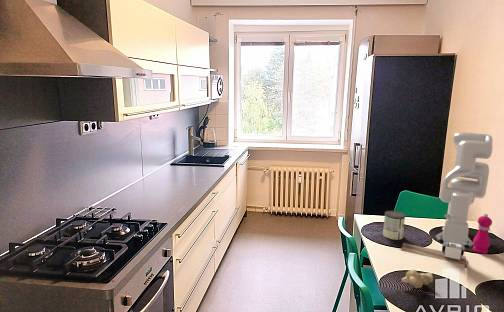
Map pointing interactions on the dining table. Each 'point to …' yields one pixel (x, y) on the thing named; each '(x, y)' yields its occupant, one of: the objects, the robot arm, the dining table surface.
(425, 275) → the beige lumpy piece
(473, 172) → the robot arm
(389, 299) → the dining table surface
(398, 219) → the coffee can
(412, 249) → the grey brown bent bar
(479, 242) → the pepper mill
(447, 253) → the white block
